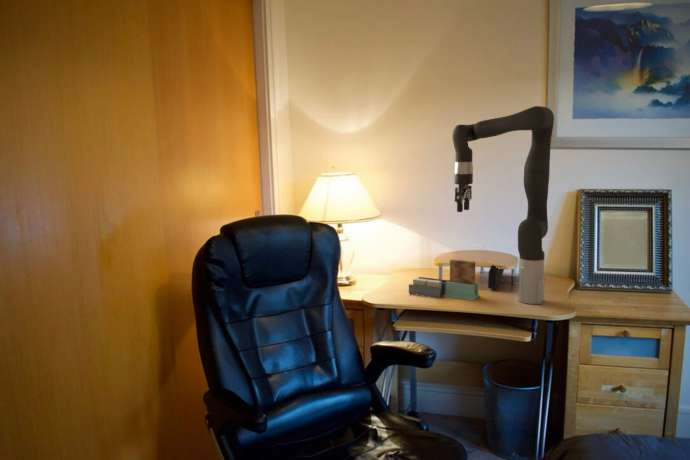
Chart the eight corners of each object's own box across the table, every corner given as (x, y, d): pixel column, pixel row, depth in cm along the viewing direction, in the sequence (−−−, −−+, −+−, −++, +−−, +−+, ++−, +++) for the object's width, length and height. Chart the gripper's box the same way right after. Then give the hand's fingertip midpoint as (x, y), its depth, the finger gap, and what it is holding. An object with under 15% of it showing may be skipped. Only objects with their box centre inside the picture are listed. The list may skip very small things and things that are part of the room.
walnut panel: (474, 295, 211) (475, 261, 209) (473, 296, 209) (473, 262, 207) (451, 292, 216) (451, 259, 214) (449, 293, 215) (450, 260, 213)
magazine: (495, 271, 216) (503, 239, 241) (487, 271, 217) (496, 239, 243) (496, 307, 223) (504, 272, 249) (488, 306, 224) (496, 271, 250)
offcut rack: (449, 291, 221) (449, 280, 220) (440, 298, 211) (440, 286, 211) (419, 287, 228) (419, 276, 227) (408, 293, 219) (408, 282, 218)
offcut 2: (441, 292, 216) (441, 281, 215) (438, 294, 213) (438, 282, 213) (429, 291, 219) (429, 279, 218) (426, 292, 216) (426, 281, 215)
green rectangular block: (479, 295, 213) (479, 281, 212) (473, 300, 207) (473, 286, 206) (451, 292, 220) (451, 278, 219) (444, 296, 213) (444, 282, 212)
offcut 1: (428, 290, 219) (428, 279, 218) (425, 292, 216) (425, 280, 216) (416, 289, 222) (416, 278, 221) (413, 291, 219) (413, 279, 219)
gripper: (466, 173, 210) (466, 213, 212) (477, 172, 222) (477, 209, 224) (449, 173, 214) (448, 212, 216) (460, 172, 226) (460, 208, 228)
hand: (463, 210), depth 220 cm, fingers open, 8 cm apart
